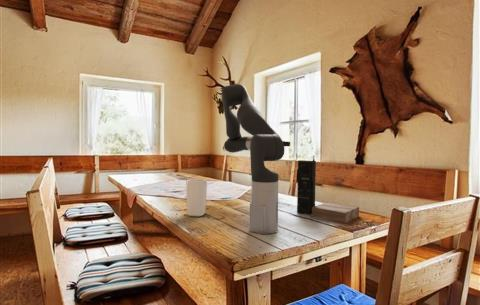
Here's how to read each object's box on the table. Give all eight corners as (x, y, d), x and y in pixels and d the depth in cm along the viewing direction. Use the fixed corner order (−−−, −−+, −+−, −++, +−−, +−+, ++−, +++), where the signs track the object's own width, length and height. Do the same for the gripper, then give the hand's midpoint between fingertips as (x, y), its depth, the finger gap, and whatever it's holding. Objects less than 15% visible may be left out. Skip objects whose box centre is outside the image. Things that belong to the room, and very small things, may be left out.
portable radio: (294, 212, 129) (294, 155, 128) (298, 209, 135) (299, 154, 134) (312, 214, 126) (313, 155, 125) (315, 211, 131) (316, 155, 130)
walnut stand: (345, 223, 113) (345, 212, 113) (311, 216, 123) (311, 207, 122) (358, 216, 124) (359, 206, 123) (327, 211, 133) (327, 202, 133)
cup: (202, 218, 119) (202, 181, 119) (185, 217, 121) (185, 180, 120) (207, 213, 126) (207, 179, 126) (191, 213, 128) (191, 178, 127)
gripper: (247, 135, 142) (275, 135, 131) (266, 136, 152) (293, 136, 142) (247, 151, 142) (275, 152, 131) (265, 150, 153) (293, 151, 142)
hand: (284, 144), depth 136 cm, fingers open, 8 cm apart
